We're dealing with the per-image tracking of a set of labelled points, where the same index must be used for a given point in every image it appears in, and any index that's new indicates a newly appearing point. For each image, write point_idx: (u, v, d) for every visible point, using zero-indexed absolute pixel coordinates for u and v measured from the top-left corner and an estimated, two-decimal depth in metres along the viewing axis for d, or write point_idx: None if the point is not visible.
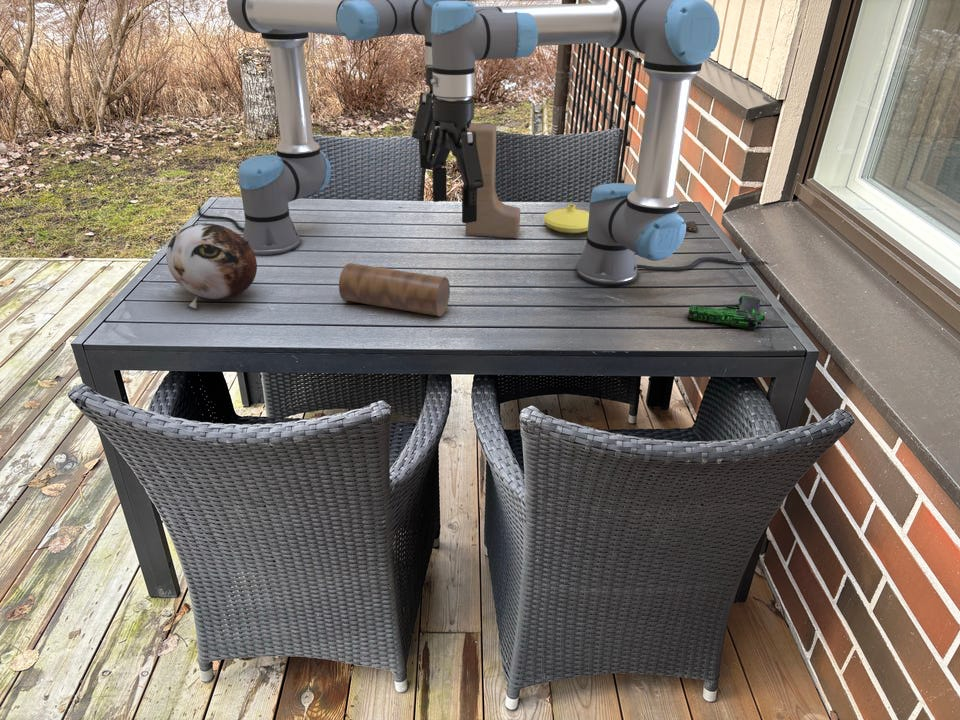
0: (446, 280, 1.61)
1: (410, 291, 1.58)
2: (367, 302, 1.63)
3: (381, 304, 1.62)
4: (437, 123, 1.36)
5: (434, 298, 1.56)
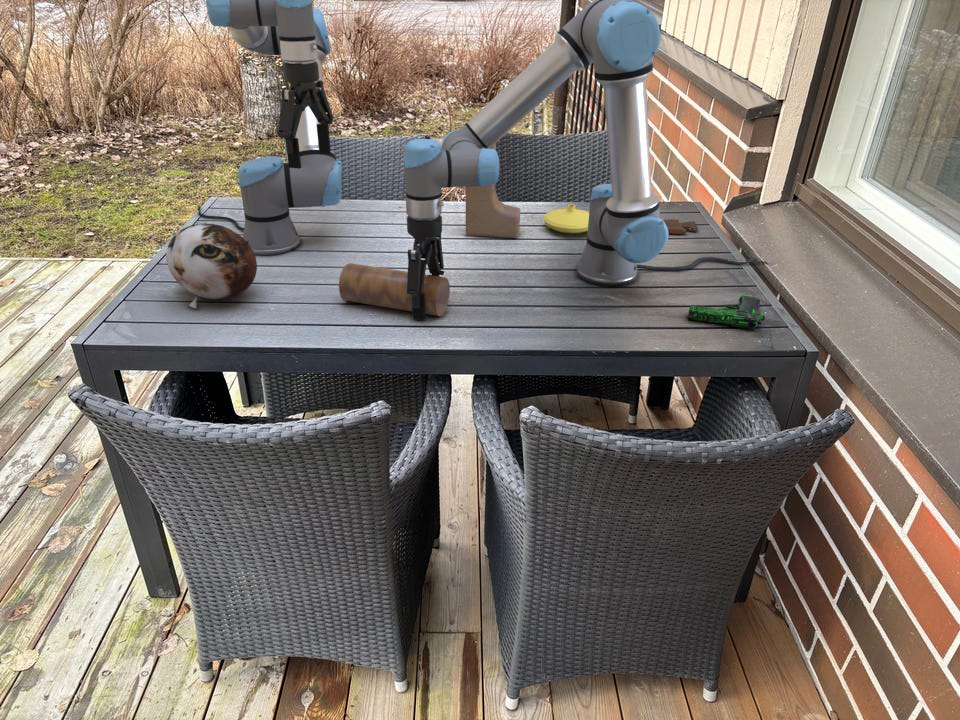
0: (446, 280, 1.61)
1: None
2: (367, 302, 1.63)
3: (381, 304, 1.62)
4: None
5: (433, 298, 1.56)
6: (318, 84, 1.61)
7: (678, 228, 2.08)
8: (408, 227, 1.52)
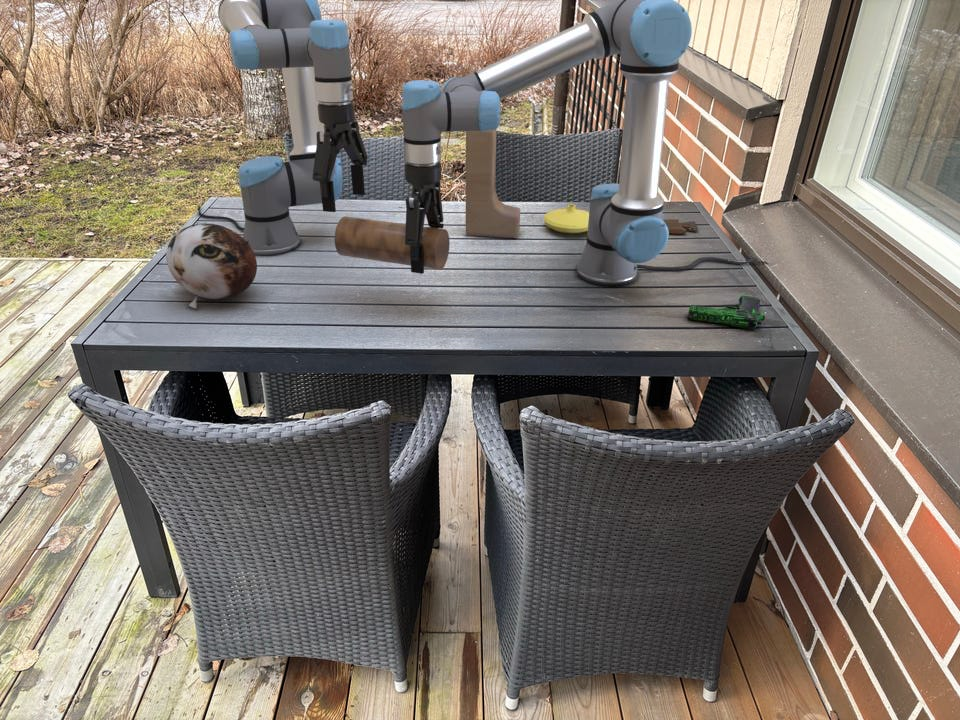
0: (446, 232, 1.55)
1: None
2: (364, 256, 1.58)
3: (378, 258, 1.57)
4: None
5: (433, 249, 1.51)
6: (353, 125, 1.56)
7: (678, 228, 2.08)
8: (406, 174, 1.46)
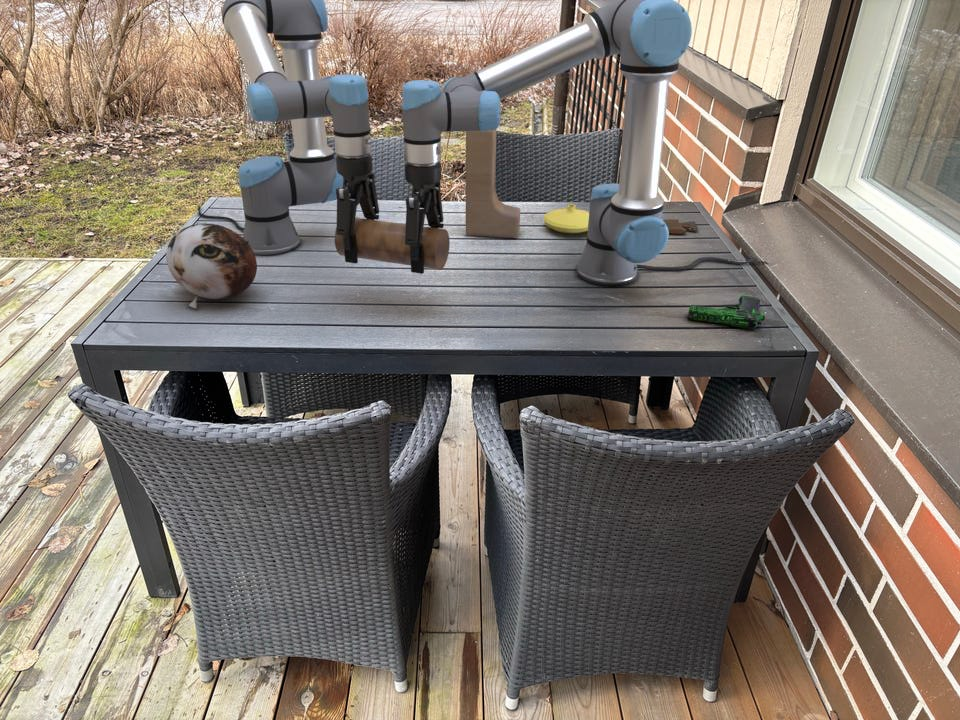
0: (446, 232, 1.55)
1: None
2: (364, 256, 1.58)
3: (378, 258, 1.57)
4: None
5: (433, 249, 1.51)
6: (370, 176, 1.58)
7: (678, 228, 2.08)
8: (406, 174, 1.46)
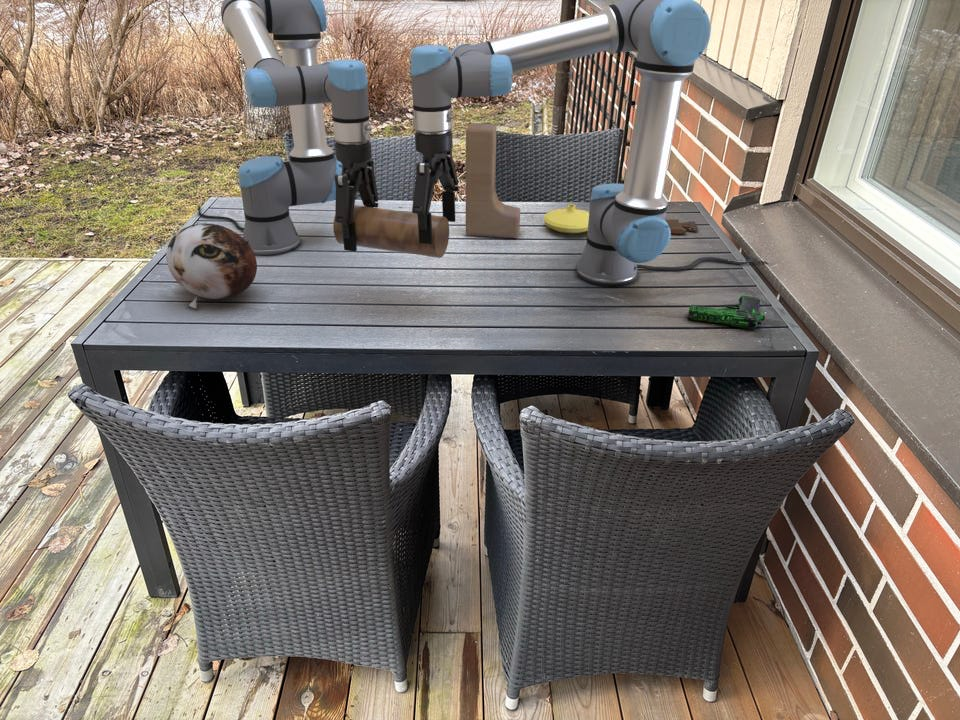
0: (445, 220, 1.54)
1: (408, 230, 1.51)
2: (363, 244, 1.56)
3: (377, 246, 1.55)
4: None
5: (432, 237, 1.49)
6: (369, 163, 1.56)
7: (678, 228, 2.08)
8: (416, 143, 1.42)
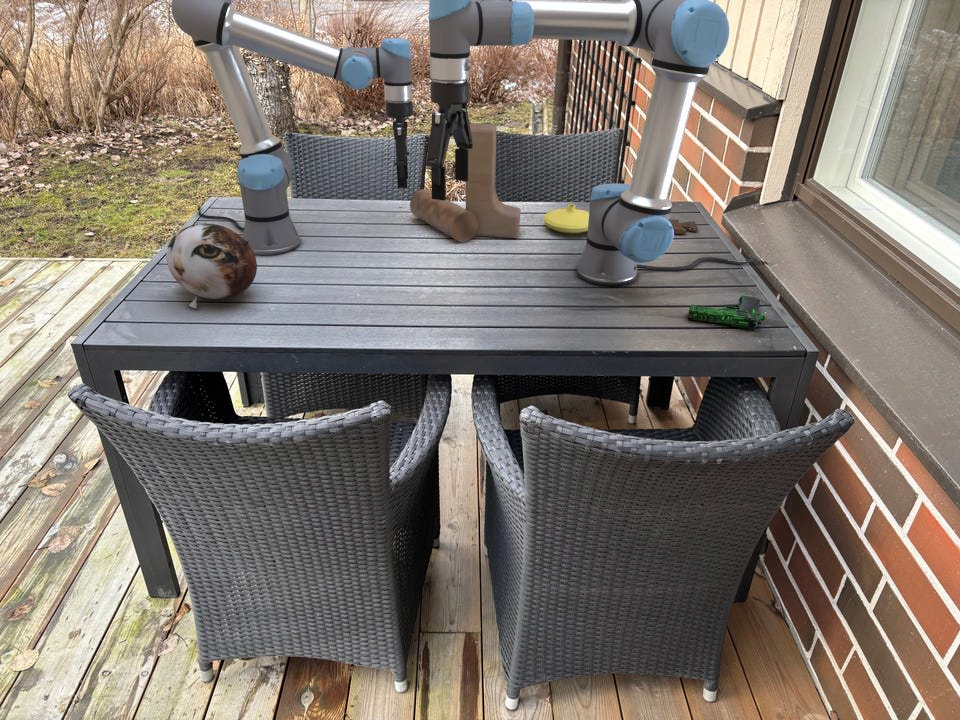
0: (476, 222, 2.01)
1: (450, 206, 2.01)
2: (420, 210, 2.09)
3: (427, 212, 2.06)
4: None
5: (459, 213, 1.96)
6: None
7: (678, 228, 2.08)
8: (432, 93, 1.36)
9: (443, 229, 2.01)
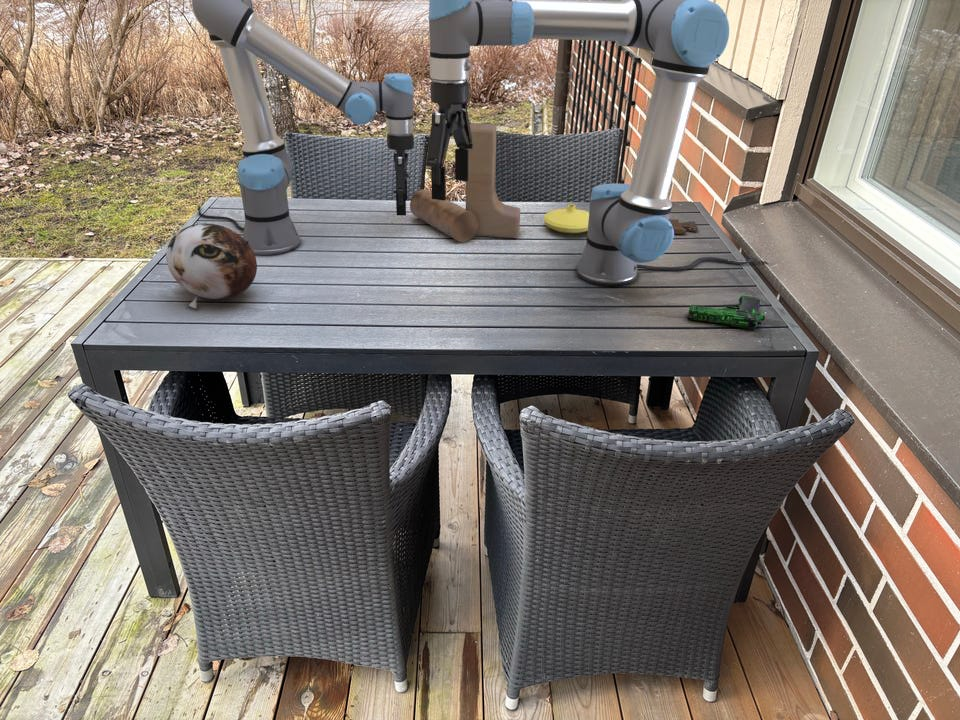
0: (476, 222, 2.01)
1: (450, 206, 2.01)
2: (420, 210, 2.09)
3: (427, 212, 2.06)
4: None
5: (459, 213, 1.96)
6: None
7: (678, 228, 2.08)
8: (432, 93, 1.36)
9: (443, 229, 2.01)
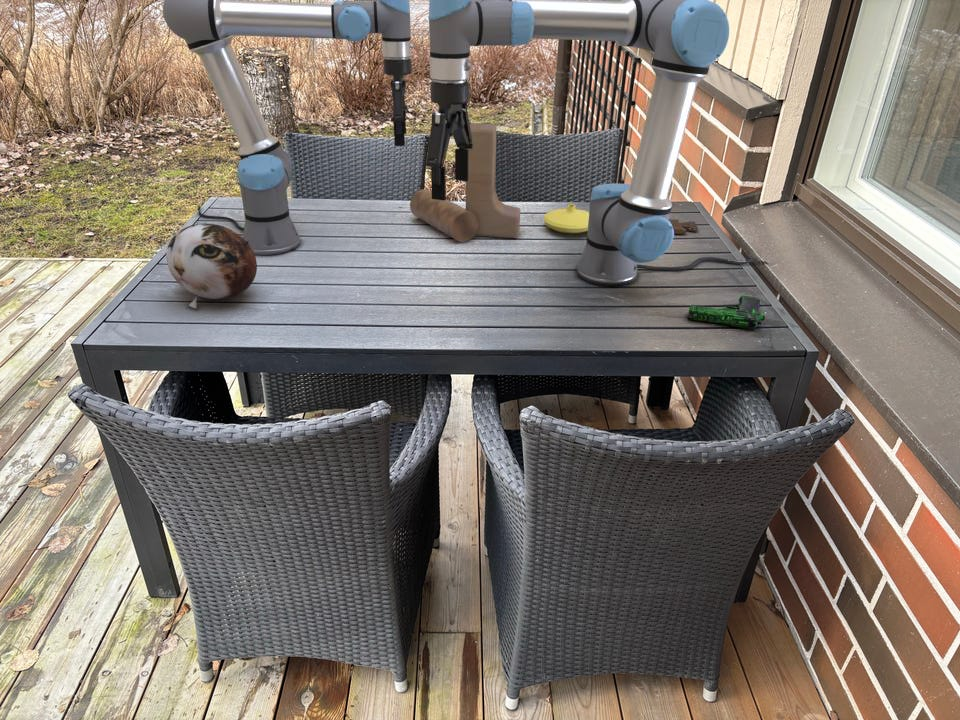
0: (476, 222, 2.01)
1: (450, 206, 2.01)
2: (420, 210, 2.09)
3: (427, 212, 2.06)
4: None
5: (459, 213, 1.96)
6: None
7: (678, 228, 2.08)
8: (432, 93, 1.36)
9: (443, 229, 2.01)
